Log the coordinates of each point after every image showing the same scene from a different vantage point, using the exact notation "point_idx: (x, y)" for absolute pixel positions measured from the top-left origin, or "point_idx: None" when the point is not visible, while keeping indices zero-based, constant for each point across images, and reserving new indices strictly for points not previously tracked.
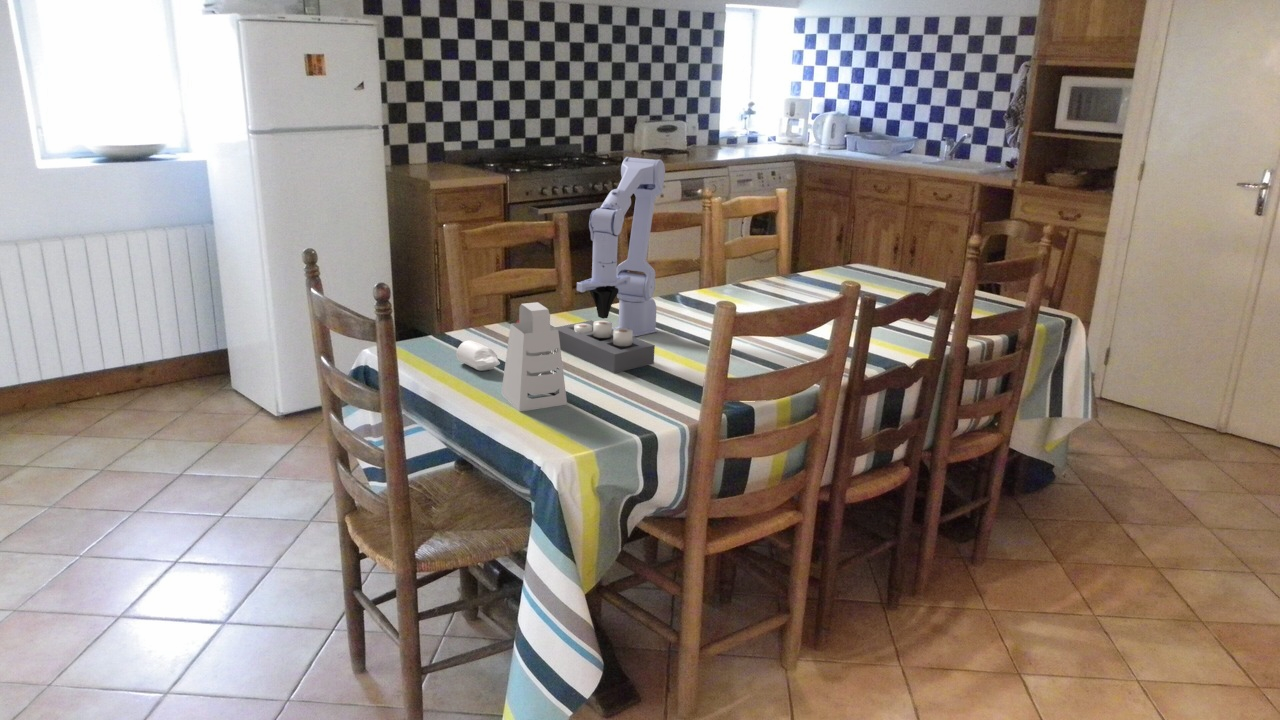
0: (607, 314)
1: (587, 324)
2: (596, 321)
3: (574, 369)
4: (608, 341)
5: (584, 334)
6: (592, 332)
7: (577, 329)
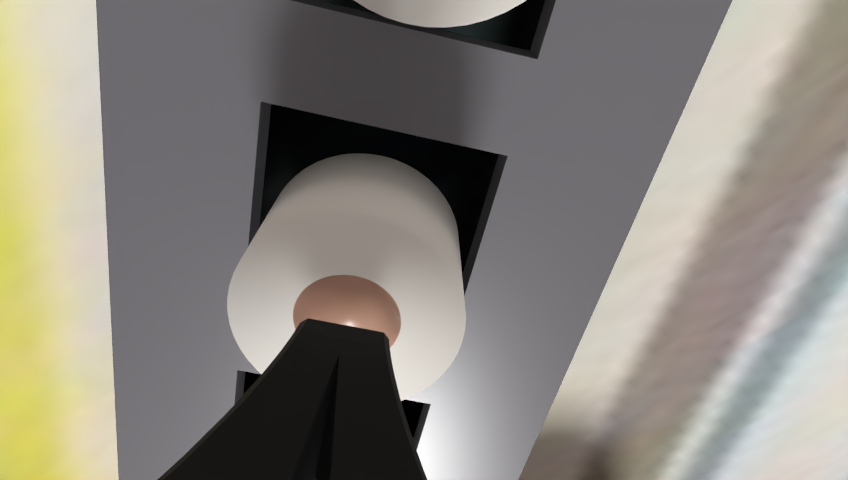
0: (314, 347)
1: None
2: None
3: (815, 99)
4: (456, 89)
5: None
6: None
7: None
